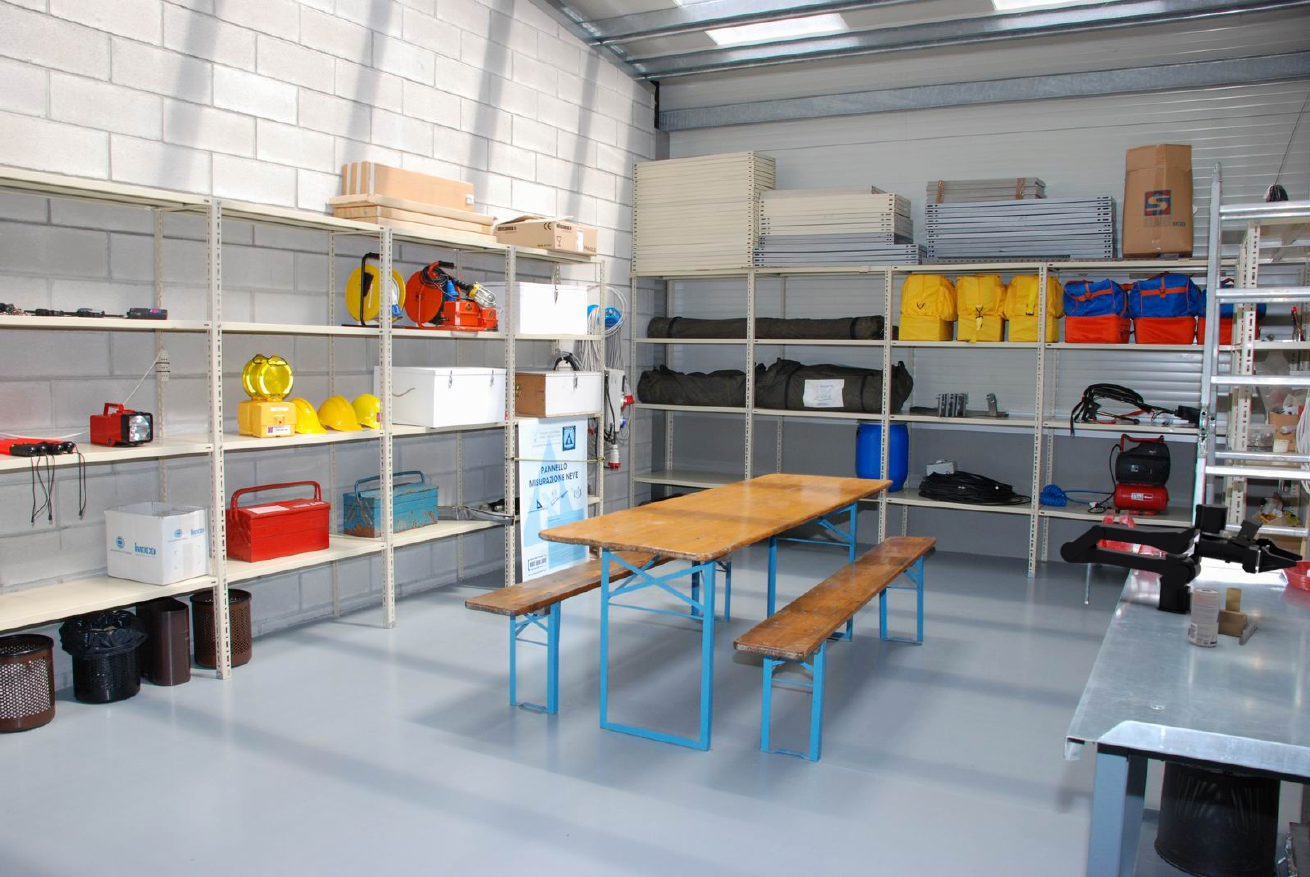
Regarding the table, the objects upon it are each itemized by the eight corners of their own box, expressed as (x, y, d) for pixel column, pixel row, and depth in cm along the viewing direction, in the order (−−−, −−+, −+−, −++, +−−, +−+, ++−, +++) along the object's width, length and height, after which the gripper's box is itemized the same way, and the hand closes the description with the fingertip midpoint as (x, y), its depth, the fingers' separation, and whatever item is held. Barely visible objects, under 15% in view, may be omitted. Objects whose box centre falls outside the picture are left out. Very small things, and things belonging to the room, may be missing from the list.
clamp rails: (1188, 635, 222) (1188, 628, 221) (1205, 618, 236) (1206, 612, 236) (1242, 645, 215) (1243, 638, 215) (1257, 627, 229) (1257, 620, 229)
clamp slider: (1201, 629, 226) (1203, 596, 225) (1213, 616, 237) (1216, 585, 236) (1240, 636, 221) (1243, 602, 220) (1252, 623, 232) (1254, 591, 231)
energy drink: (1215, 642, 217) (1219, 589, 215) (1218, 648, 212) (1222, 594, 211) (1188, 638, 219) (1192, 586, 218) (1190, 645, 214) (1194, 591, 213)
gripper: (1219, 520, 227) (1298, 532, 217) (1234, 511, 242) (1309, 522, 232) (1213, 567, 229) (1292, 581, 219) (1229, 555, 243) (1303, 567, 233)
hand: (1299, 561), depth 225 cm, fingers open, 9 cm apart
